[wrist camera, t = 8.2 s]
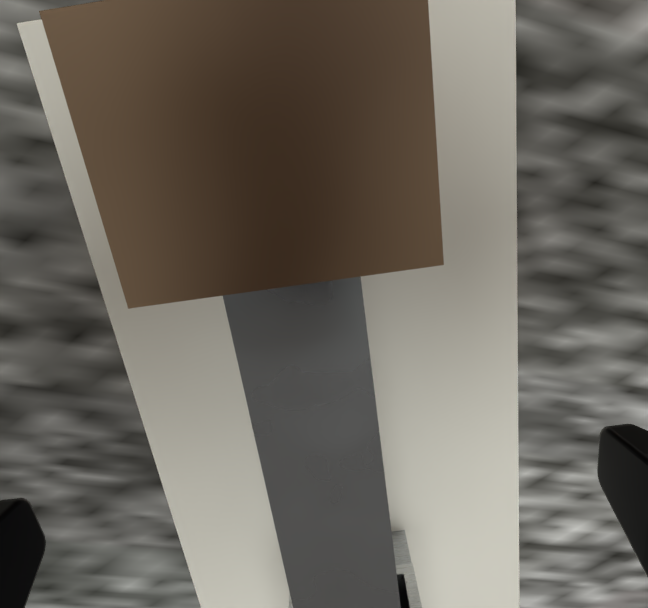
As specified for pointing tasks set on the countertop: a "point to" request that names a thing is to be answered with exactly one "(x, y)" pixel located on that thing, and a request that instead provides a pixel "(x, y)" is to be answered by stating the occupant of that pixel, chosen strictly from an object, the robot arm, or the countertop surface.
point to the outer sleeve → (402, 573)
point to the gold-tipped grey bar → (318, 439)
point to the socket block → (253, 139)
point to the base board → (385, 353)
